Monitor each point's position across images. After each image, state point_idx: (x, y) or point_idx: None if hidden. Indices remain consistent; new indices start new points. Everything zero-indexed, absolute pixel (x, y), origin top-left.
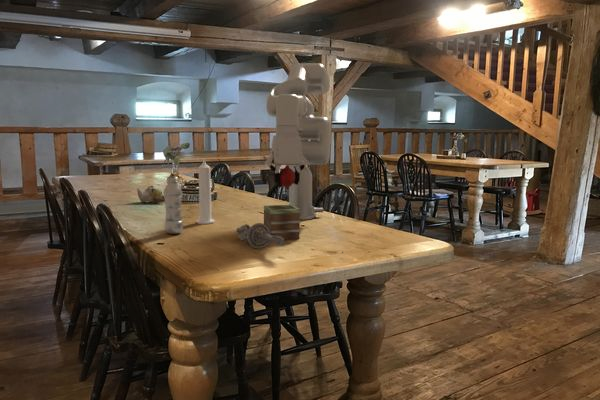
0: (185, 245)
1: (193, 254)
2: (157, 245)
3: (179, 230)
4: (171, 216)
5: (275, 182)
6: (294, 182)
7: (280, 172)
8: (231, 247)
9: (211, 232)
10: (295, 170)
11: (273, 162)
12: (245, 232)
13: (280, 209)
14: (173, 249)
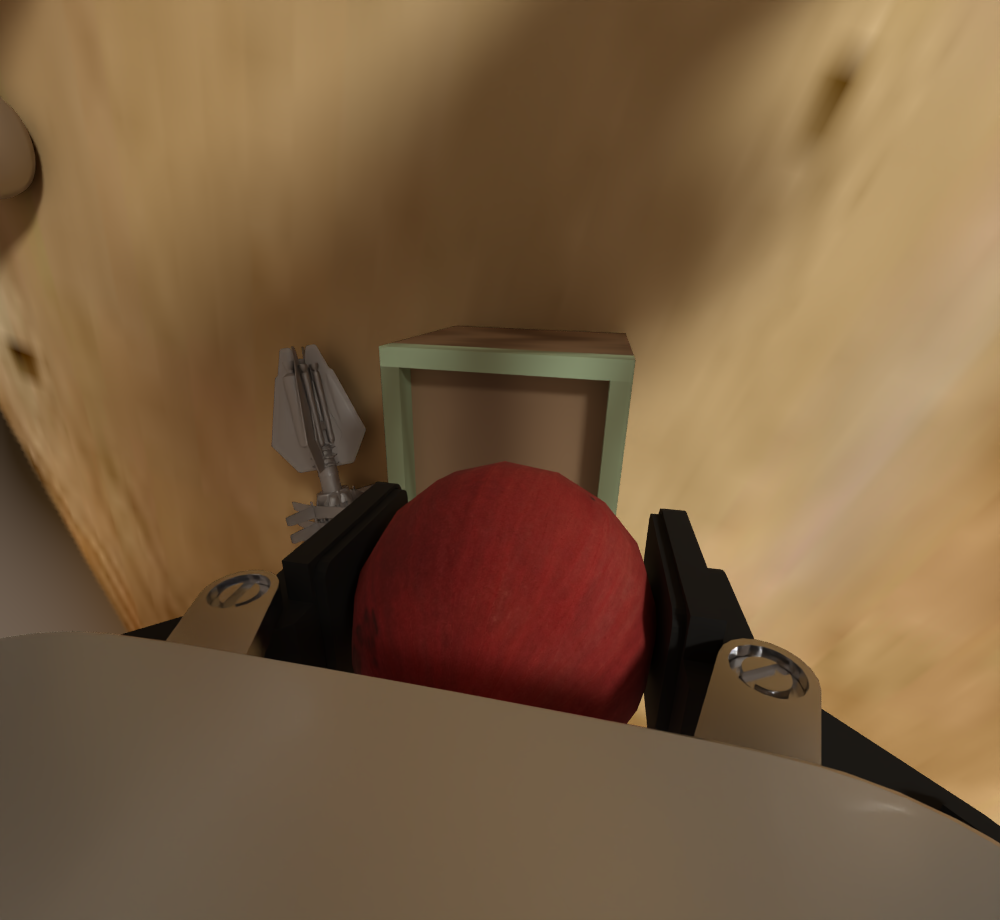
0: (118, 424)
1: (168, 556)
2: (22, 386)
3: (17, 189)
4: None
5: (371, 487)
6: (646, 558)
7: (353, 664)
8: (284, 520)
9: (184, 173)
10: (701, 709)
11: (9, 659)
12: (307, 525)
13: (514, 406)
14: (92, 468)
